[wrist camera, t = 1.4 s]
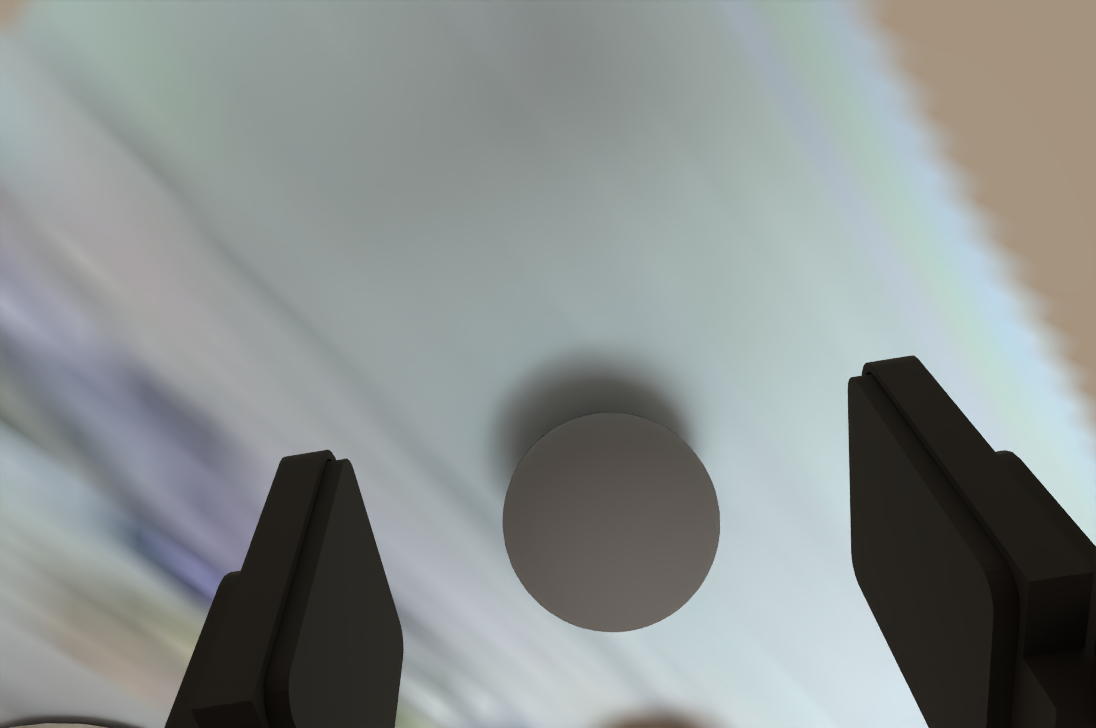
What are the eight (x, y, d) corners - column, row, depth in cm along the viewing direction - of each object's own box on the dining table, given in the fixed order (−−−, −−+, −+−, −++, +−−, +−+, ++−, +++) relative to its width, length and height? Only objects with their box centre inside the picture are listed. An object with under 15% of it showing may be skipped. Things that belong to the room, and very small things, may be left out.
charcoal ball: (706, 524, 31) (749, 661, 26) (520, 553, 32) (524, 695, 26) (689, 359, 29) (732, 475, 23) (485, 392, 29) (482, 514, 23)
